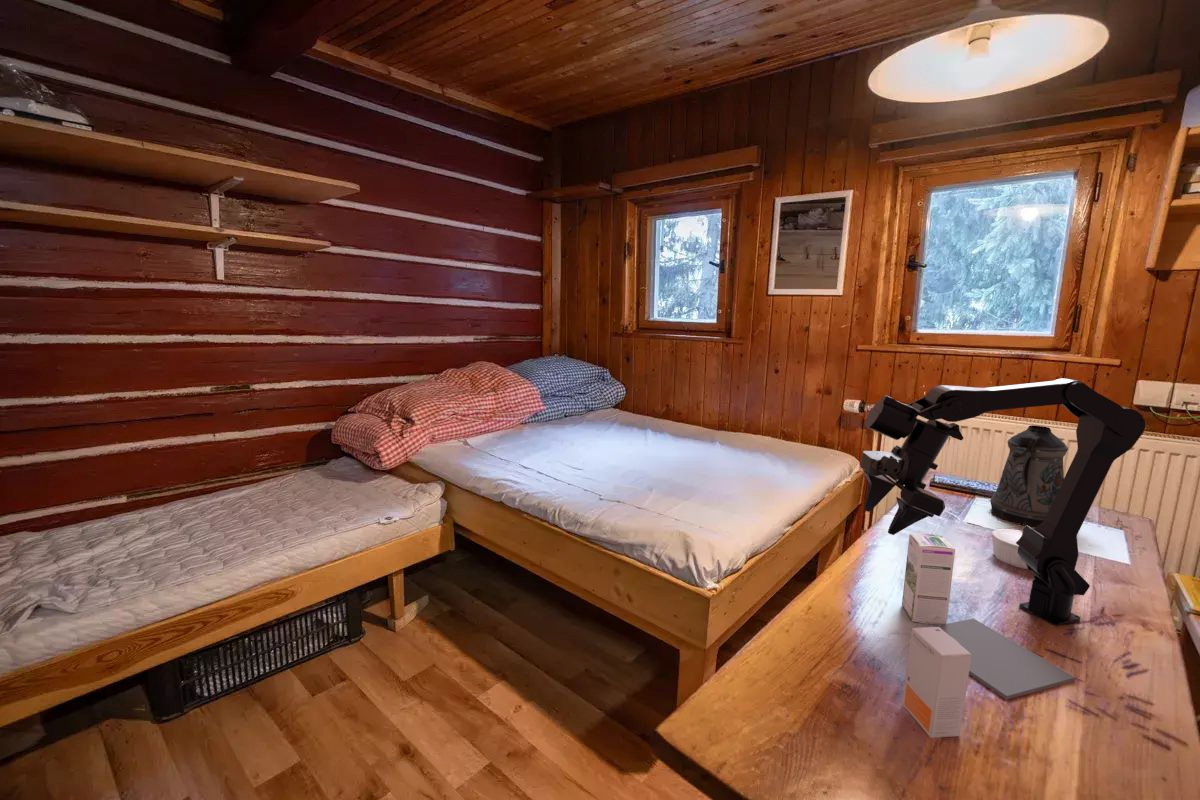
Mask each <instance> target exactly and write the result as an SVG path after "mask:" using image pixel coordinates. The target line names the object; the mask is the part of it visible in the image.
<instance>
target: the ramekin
mask: <svg viewBox="0 0 1200 800" xmlns="http://www.w3.org/2000/svg"><path fill="white" fill-rule="evenodd" d="M1022 533H1023V530H1019V529H1012V528H999V529H998V528H997V529H994V530H993V531H991V538H992V551H993V554H994V556H995V557H996V559H998V560H999V561H1001V562H1003V563H1005V564H1007V565H1010V566H1013V567H1016V568H1020V569H1025V570H1028V569H1027V566H1026V563H1025V562H1024V561H1023V560H1021V558H1020V556H1019V554H1018V547H1019V545H1017V544H1016V542H1017V541H1018V540H1019V539H1020V538H1021V536H1022Z"/></svg>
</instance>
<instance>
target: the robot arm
mask: <svg viewBox="0 0 1200 800" xmlns="http://www.w3.org/2000/svg"><path fill="white" fill-rule="evenodd" d="M1056 405H1062V406H1063V407H1064V408H1065V409H1066V410H1067V411H1068V412H1069V413H1070V414H1072V415H1074V416H1075V417H1076V418H1077V419H1078V422H1077V426H1076V431H1075V434H1076V436H1075V437H1076V444H1077V449H1076V452H1075V455H1074V456H1073V459H1072V460H1071V463H1070V465H1069V467H1068V469H1067V471H1066V474H1065V475H1064V480H1063V482H1062V484H1061V486H1060V488H1059V490H1058V492H1057V494H1056V496H1055V499H1054V501H1053V503H1052V505H1051V507H1050V509H1049V511H1048V513H1047V515H1046V518H1045V520H1044V521H1043V522H1042V523H1041V524H1039V525H1038V526H1036V527H1035V528H1033V527H1030V526H1028V525H1026V526H1023V529H1022V531H1023V533H1022V536H1021V538H1020V539H1019V540H1018V541H1017V542H1016V544H1017V545H1019V547H1018V554H1019V556H1020V558H1021V560H1023V561H1024V562H1025V563H1026V566H1027V569H1026V570H1027V571H1028V572H1031V574H1033V575H1034V576H1033V579H1032V584H1031V588H1030V593H1029V598H1028V601H1025V602H1021V603H1019V604H1018V605H1019V608H1021V609H1023V610H1025V611H1028V612H1029V613H1031V614H1033V615H1034V616H1036V617H1039V618H1041V619H1043V620H1045V621H1047V622H1049V623H1050V624H1052V625H1055V626H1060V625H1064V624H1069V623H1072V622H1078V621H1080V620H1081V616H1080V615H1077V614H1076V613H1073V612H1072V609H1073V604H1074V603H1073V602H1074V598H1075V596H1076V595H1077V596H1085V594H1086V593H1087V591H1088V590H1089V589H1090V583H1088V581H1087V580H1085V578H1083V576H1082V575H1080V573H1078V571H1077V570H1076V567H1077V562H1078V559H1079V556H1080V555H1079V553H1080V552H1079V545H1078V535H1079V532H1080V530H1081V528H1082V526H1083V524H1084V521H1085V520H1086V518H1087V516H1088V513H1089V512H1090V509H1092V505H1093V504H1094V501H1095V499H1096V498H1097V495H1099V491H1100V489H1101V488H1102V485H1103V484H1104V482H1105V479H1106V477H1107V475H1108V473H1109V470H1110V469H1111V467H1112V466H1113V463H1114V462H1115V461H1116V460H1117V459H1118V458H1119V457H1121V456H1123V455H1124V454H1126V453H1127V452H1129V451H1130V450H1131V449H1132V448H1134V447H1135V445H1136V444H1137V442H1138V440H1139V439H1140V438H1141V437H1142V435H1143V434H1144V432H1145V431H1146V427H1147V421H1146V419H1144V417H1143V415H1142V414H1141V413H1140V412H1139V411H1138V410H1135V409H1133V408H1129V407H1125V406H1121V405H1120V404H1118V403H1117V402H1115V401H1113V400H1111V399H1109V398H1108V397H1106V396H1104V395H1103V394H1101V393H1099V392H1097V391H1095V390H1094V389H1093V388H1092V387H1090V386H1088V385H1087V384H1086V383H1085V382H1082V381H1080V380H1076V379H1072V378H1066V377H1065V378H1064V377H1063V378H1057V379H1054V380H1048V381H1039V382H1038V381H1037V382H1030V383H1029V382H1028V383H1017V384H1009V385H1000V386H999V385H997V386H989V387H988V386H987V387H974V386H973V387H972V386H961V385H946V384H945V385H943V384H940V385H936V386H934V387H931V389H930V390H929V391H928V392H927V393H926V394H925V396H922V397H920V398H918V399H917V400H914V401H912V402H910V403H908V404H906V403H902V402H901V401H898V400H896V399H894V397H891V396H888V395H886V394H884V395H882V397H881V399H880V400H878V401H877V402H876V403H875V404H874V406H873V407H871V408H870V410H869V412H868V414H867V416H866V419H865V424H864V425H865V428H867V429H870V430H872V431H874V432H877V433H878V434H881V435H883V436H886V437H888V438H890V439H893V440H895V441H897V440H900V439H905V440H904V442H903V443H902V445H901V446H899V445H895V446H893V448H892V450H891V451H890V452H889V451H882V450H881V451H880V450H863V451H862V454H861V461H860V466H859V467H860V468H861V469H862V473H863V474H864V475H865V478H866V480H867V490H866V496H865V501H864V506H863V507H864V508H863V510H864V511H865V512H868V513H869V512H871V511H872V510H874V509H875V507H877V506H878V505H879V503H880V502H881V501H882V500H883V499H884V498H885V497H886V496H887V495H888V494H889V493H890V492H891V491H892V490H893V488H895V487H897V488H898V489H899V490H900V493H899V495H900V497H898V496H897V497H896V501H897V505H898V508H897V511H896V512H895V514H894V517H893V519H892V521H891V523H890V525H889V527H888V530H887V533H888V534H889V535H891V536H895V535H896V534H898V533H900V532H901V531H903V530H905V529H906V528H908V527H910V526H912V525H913V524H916V523H917V522H919V521H921V520H924V519H926V518H927V517H930V518H933V517H934V516H937V517H941V515H942V513H944V510H946V505H945V501H944V500H943V499H942V498H940V497H939V496H938V495H936V494H935V493H933V491H929V490H927V489H926V487H927V484H926V483H924V482H923V481H924V479H925V478H926V476H927V474H928V472H929V471H930V469H932V470H934V471H937V468H938V467H939V465H938V464H937V463H935V461H936V459H937V458H938V456H939V454H940V452H941V450H942V449H943V447H944V446H945V444H946V442H947V440H948V439H949V437H952V438H954V439H955V440H956V439H957V440H958V441H963V440H964V436H963V434H962V432H961V429H960V425H959V424H957V423H956V422H961V421H965V420H968V419H973V418H977V417H979V416H982V415H983V414H986V413H990V412H994V411H1002V410H1003V411H1004V410H1014V409H1023V408H1024V409H1025V408H1034V407H1037V408H1038V407H1044V406H1045V407H1047V406H1056ZM918 416H919V417H921V418H924V419H925V420H927V421H925V420H922V419H921V418H918ZM939 420H943V421H946V422H949V423H945V422H941V421H939Z"/></svg>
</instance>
